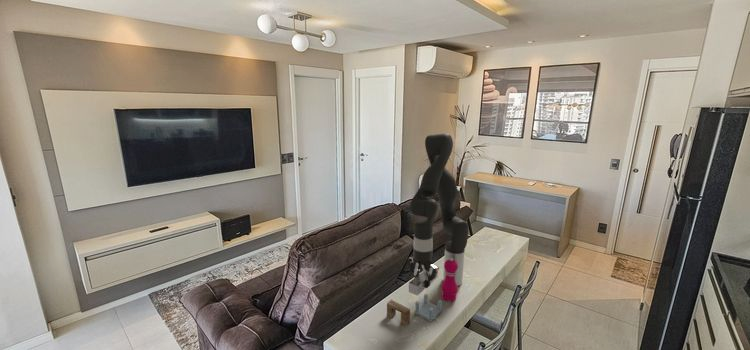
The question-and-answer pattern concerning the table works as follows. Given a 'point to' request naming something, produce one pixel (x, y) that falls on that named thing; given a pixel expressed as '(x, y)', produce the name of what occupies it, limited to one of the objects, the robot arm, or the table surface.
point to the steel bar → (419, 283)
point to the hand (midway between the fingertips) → (422, 284)
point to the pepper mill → (449, 280)
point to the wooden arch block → (405, 311)
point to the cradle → (428, 309)
